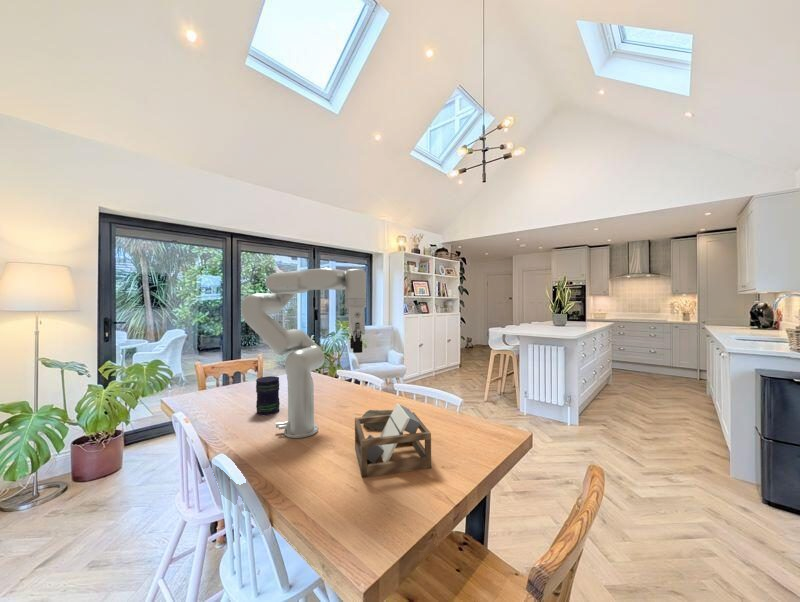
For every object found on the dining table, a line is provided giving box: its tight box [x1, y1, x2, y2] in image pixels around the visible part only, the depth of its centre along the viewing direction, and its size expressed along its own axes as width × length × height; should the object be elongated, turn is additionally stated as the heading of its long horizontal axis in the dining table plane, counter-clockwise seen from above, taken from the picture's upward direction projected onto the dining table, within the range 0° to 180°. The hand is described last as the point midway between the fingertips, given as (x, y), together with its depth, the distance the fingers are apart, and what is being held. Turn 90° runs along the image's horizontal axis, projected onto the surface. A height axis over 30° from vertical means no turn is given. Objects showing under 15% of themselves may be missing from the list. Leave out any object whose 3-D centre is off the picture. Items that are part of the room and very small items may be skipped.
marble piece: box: [361, 409, 394, 432], centre depth 131 cm, size 17×15×4 cm
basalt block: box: [360, 434, 384, 464], centre depth 101 cm, size 5×5×5 cm
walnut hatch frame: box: [354, 411, 432, 479], centre depth 103 cm, size 21×18×10 cm
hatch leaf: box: [379, 402, 420, 462], centre depth 103 cm, size 15×15×5 cm
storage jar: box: [255, 375, 280, 416], centre depth 146 cm, size 10×10×15 cm
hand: (356, 350), depth 116 cm, fingers open, 9 cm apart
